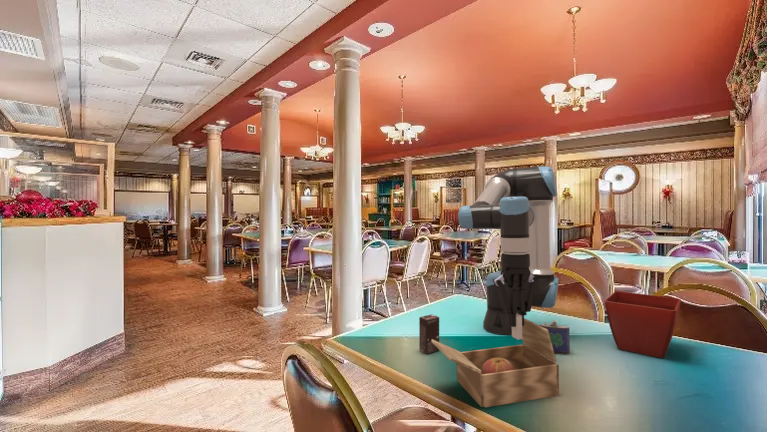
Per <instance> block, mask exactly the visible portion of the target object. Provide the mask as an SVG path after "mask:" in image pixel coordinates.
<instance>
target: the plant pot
mask: <svg viewBox="0 0 767 432" xmlns="http://www.w3.org/2000/svg"><path fill="white" fill-rule="evenodd" d="M681 301H682V300H681V298H678V297H670V296H660V295H652V294H643V293H637V292H628V291H627V292H626V291H621V290H620V291H619V290H617V291H614V292H613V293H611V295H609V296H608V297H607V298H606V299H604V306H605V312H606V316H607V321H608V324H609V329H610V332H611V334H612V336H613V340H614V343H615V345H616V348H617V349H619V350H623V351H628V352H632V353H635V354H642V355H646V356H651V357H655V358H659V359H664V358H665V357H666V355H667V353H668V350H669V347H670V344H671V342H672V339H673V335H674V332H675V329H676V326H677V322H678V317H679V312H680V307H681Z"/></svg>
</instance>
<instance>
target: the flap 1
mask: <svg viewBox="0 0 767 432" xmlns="http://www.w3.org/2000/svg"><path fill="white" fill-rule="evenodd" d="M431 342H432V343H433V344H434V345H435V346H436V347H437V348H438V349H439V351H440V352H441V353H442V354H443V356H445V358H446V359H448V360H449V361H450V362H454V363H455V364H456V363H458V364H460V365H462V366H464V367H467V368H469V369H471V370H474V371H476V372H478V373H481V370H480V369H478V368H477V367H476V366H475V365H474V364H473V363H472V362H471V361H469V360H468V359H467V358H466V357H465V356H464V355H463V354H462V353H460V352H461V351H459V350H457V349H455V348H453V347H450V346H448V345H446V344H444V343H442V342H440V341H439V342H437V341H435V340H433V339H432V341H431Z"/></svg>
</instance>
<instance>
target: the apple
mask: <svg viewBox="0 0 767 432" xmlns="http://www.w3.org/2000/svg"><path fill="white" fill-rule="evenodd" d="M511 370H515V368H514V366H513V364H512V363H511V362H510V361H508V360H506V359H503V358H492V359H489V360H487V361H486V362H485V363H484V364H483V366H482V374H490V373H497V372H504V371H511Z"/></svg>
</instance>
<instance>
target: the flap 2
mask: <svg viewBox="0 0 767 432" xmlns="http://www.w3.org/2000/svg"><path fill="white" fill-rule="evenodd" d="M521 340H522V343H523V344H524V345H526V346H528V347H529V348H531V349H533V350H534V351H536V352H538V353H539V354H541V355H543V356H544V357H546V358H548V359H549V360H551V361H553V362H555V363H556V362H557V359H556V355H555V354H556V353H554V350H553V347H552V343H551V339H550V335H549V332H548V329H546V328H544V327H542V326H540V324H537V323H535V322H533V321H531V320H529V319H526V318H525V317H524V326H522V339H521Z"/></svg>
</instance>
